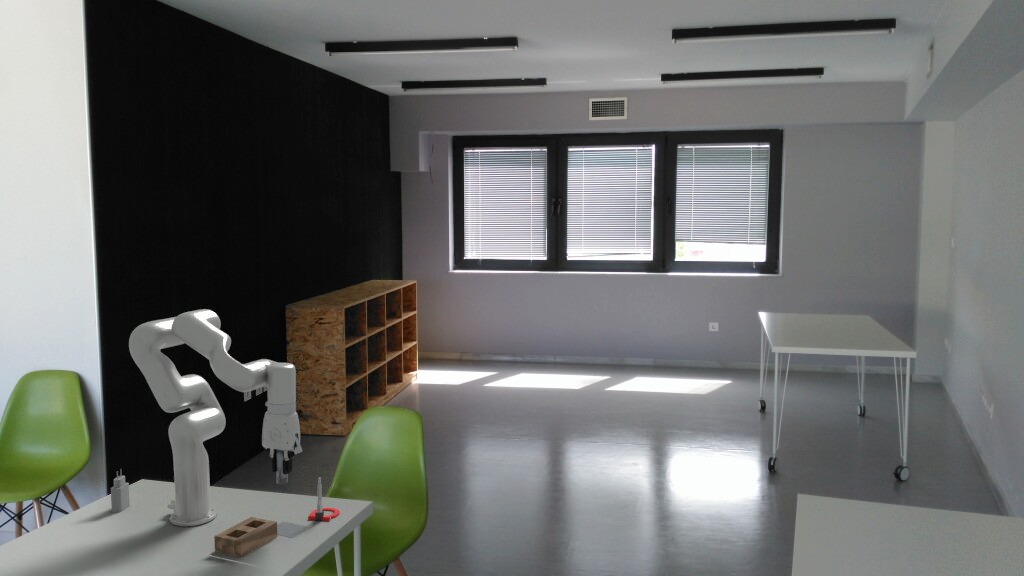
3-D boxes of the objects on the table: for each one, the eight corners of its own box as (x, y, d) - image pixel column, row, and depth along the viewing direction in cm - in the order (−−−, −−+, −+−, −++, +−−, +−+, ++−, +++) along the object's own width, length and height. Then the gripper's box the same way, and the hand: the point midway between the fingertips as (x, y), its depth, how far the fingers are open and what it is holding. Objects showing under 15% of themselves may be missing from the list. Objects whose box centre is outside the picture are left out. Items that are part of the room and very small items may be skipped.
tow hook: (317, 510, 237) (304, 521, 228) (317, 468, 236) (304, 477, 227) (343, 512, 236) (332, 523, 227) (344, 470, 235) (332, 479, 226)
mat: (264, 532, 219) (264, 531, 219) (282, 522, 227) (282, 521, 227) (292, 538, 215) (292, 537, 215) (311, 528, 223) (311, 527, 223)
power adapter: (110, 511, 234) (108, 473, 233) (121, 505, 240) (119, 467, 238) (120, 512, 234) (118, 473, 233) (130, 505, 239) (128, 467, 238)
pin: (272, 483, 218) (271, 445, 217) (281, 479, 221) (281, 442, 220) (283, 485, 216) (282, 447, 215) (292, 481, 220) (291, 444, 219)
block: (214, 552, 207) (214, 535, 206) (251, 532, 220) (251, 516, 219) (241, 558, 203) (241, 541, 203) (277, 537, 216) (276, 521, 216)
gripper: (249, 407, 216) (249, 471, 218) (297, 414, 210) (297, 480, 212) (267, 401, 223) (267, 463, 225) (314, 408, 217) (314, 472, 219)
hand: (282, 471), depth 219 cm, fingers closed on pin, 3 cm apart
